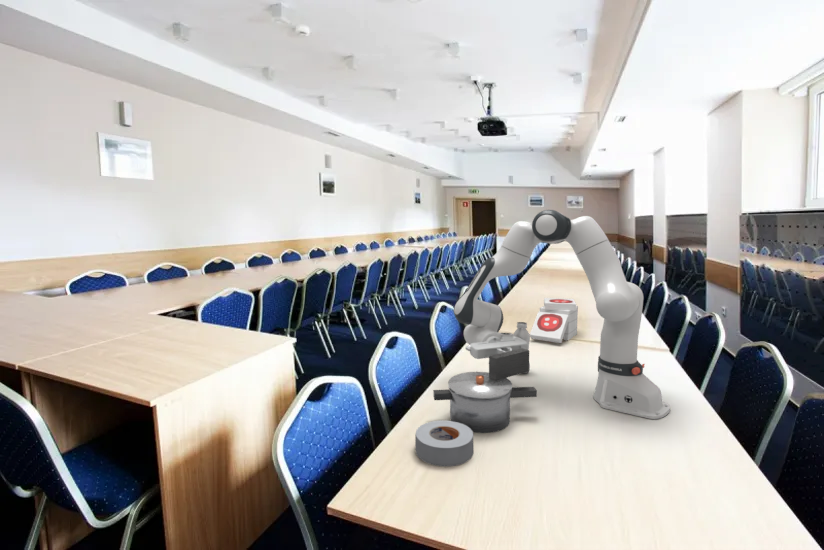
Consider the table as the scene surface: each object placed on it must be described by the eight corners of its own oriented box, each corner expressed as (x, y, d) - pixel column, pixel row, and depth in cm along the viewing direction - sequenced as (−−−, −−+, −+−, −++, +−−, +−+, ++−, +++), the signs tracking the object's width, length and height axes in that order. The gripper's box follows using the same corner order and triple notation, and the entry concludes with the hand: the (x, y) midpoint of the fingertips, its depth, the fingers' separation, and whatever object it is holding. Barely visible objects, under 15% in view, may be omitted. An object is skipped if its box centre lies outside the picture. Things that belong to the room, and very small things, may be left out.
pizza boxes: (525, 341, 214) (526, 305, 212) (546, 328, 238) (547, 296, 236) (565, 347, 203) (566, 310, 201) (582, 333, 227) (584, 299, 225)
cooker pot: (437, 434, 123) (436, 401, 122) (431, 407, 141) (431, 377, 140) (544, 430, 125) (545, 397, 123) (525, 404, 142) (526, 374, 141)
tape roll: (438, 431, 126) (437, 414, 125) (484, 448, 116) (484, 430, 116) (403, 453, 114) (403, 435, 113) (452, 474, 104) (452, 454, 104)
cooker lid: (476, 405, 118) (476, 376, 117) (436, 383, 134) (435, 358, 133) (548, 382, 134) (549, 356, 133) (504, 365, 150) (504, 342, 149)
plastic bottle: (526, 376, 167) (527, 325, 164) (509, 373, 171) (510, 323, 169) (532, 371, 172) (533, 322, 170) (516, 368, 176) (517, 320, 174)
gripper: (463, 338, 151) (481, 349, 138) (515, 332, 157) (537, 342, 144) (463, 355, 151) (481, 368, 138) (515, 349, 157) (537, 361, 144)
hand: (510, 355), depth 141 cm, fingers closed
